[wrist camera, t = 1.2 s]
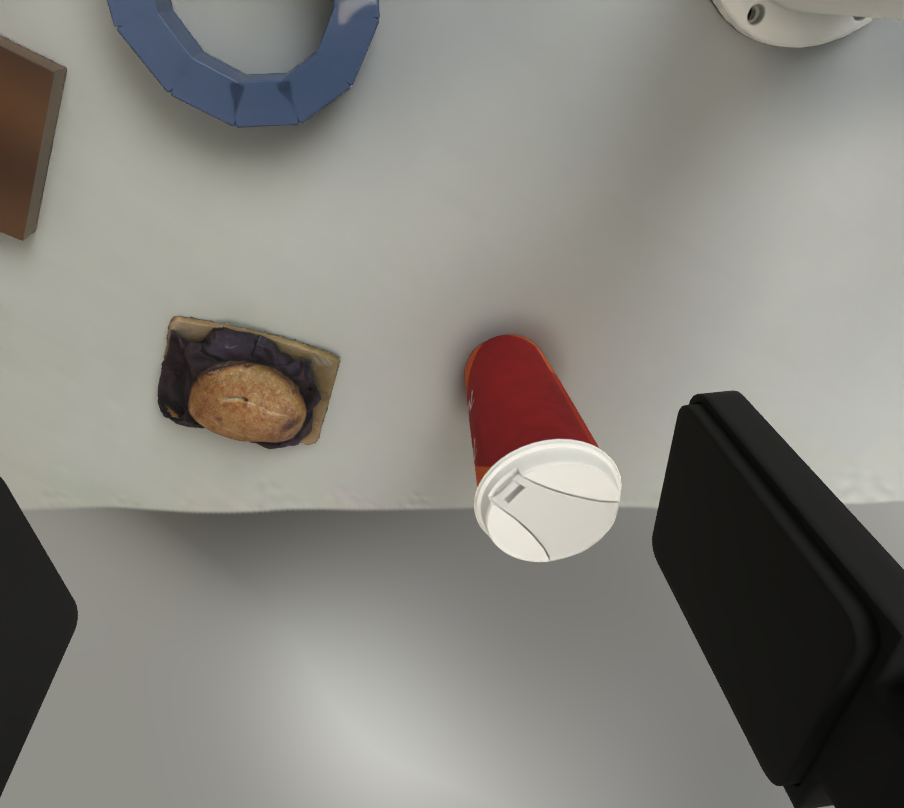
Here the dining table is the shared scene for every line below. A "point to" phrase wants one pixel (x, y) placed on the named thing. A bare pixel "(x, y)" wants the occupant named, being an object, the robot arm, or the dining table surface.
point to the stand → (25, 133)
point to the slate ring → (253, 95)
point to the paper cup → (534, 456)
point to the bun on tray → (245, 383)
